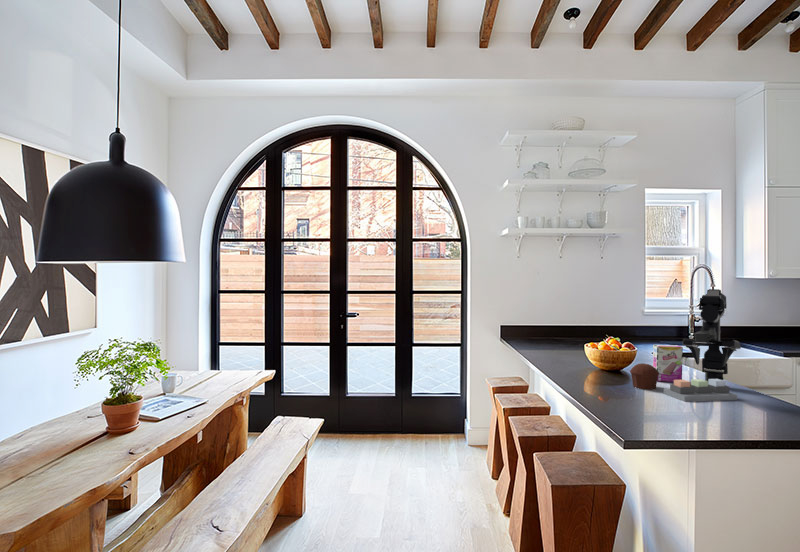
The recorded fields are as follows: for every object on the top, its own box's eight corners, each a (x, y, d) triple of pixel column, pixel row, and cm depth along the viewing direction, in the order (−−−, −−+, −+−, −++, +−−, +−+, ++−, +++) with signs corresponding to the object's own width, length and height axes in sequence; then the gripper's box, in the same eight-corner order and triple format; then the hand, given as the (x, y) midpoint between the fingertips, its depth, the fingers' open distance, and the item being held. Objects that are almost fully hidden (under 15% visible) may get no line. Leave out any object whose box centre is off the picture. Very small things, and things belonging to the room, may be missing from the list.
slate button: (708, 386, 188) (708, 379, 188) (717, 386, 188) (717, 378, 188) (716, 388, 184) (716, 381, 184) (725, 388, 184) (725, 380, 184)
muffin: (663, 391, 194) (663, 367, 194) (634, 390, 196) (634, 366, 196) (653, 384, 206) (653, 362, 206) (626, 383, 208) (626, 361, 208)
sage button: (691, 386, 187) (691, 379, 187) (700, 386, 187) (700, 379, 187) (698, 389, 183) (698, 381, 183) (707, 388, 183) (707, 381, 184)
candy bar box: (657, 382, 211) (657, 346, 211) (652, 379, 216) (652, 344, 216) (683, 382, 210) (683, 346, 210) (677, 380, 215) (677, 344, 215)
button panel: (663, 393, 190) (663, 382, 190) (713, 392, 192) (713, 381, 192) (684, 401, 178) (684, 389, 178) (737, 399, 180) (737, 388, 180)
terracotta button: (673, 387, 186) (673, 379, 186) (683, 387, 187) (683, 379, 187) (680, 389, 182) (680, 382, 182) (690, 389, 183) (690, 381, 183)
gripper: (676, 322, 189) (674, 361, 186) (727, 322, 174) (727, 364, 171) (690, 327, 195) (689, 364, 192) (741, 327, 179) (741, 368, 176)
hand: (710, 365), depth 183 cm, fingers open, 9 cm apart
